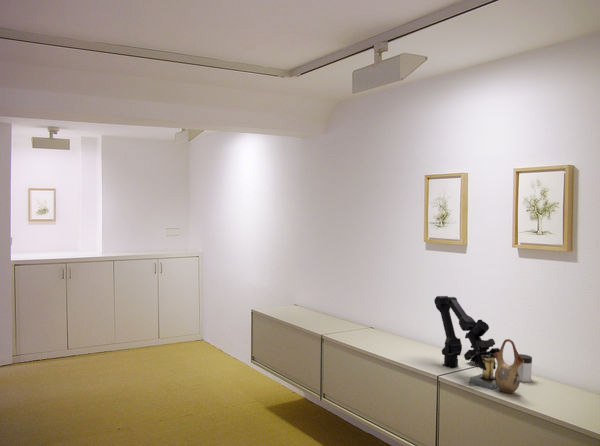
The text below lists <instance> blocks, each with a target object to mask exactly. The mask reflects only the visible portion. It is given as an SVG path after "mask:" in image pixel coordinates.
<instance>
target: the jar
mask: <svg viewBox="0 0 600 446" xmlns="http://www.w3.org/2000/svg"><path fill="white" fill-rule="evenodd" d="M518 354H519V355H520V357H521V358H522V359H523V360H524V363H523V364H521V365H520V366H519V368H518V373H519V376H520V382H522V383H530V382H532V368H533V367H532V366H533V357H532V356H531V355H527V354H522V353H521V354H520V353H518Z"/></svg>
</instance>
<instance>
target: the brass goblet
mask: <svg viewBox="0 0 600 446" xmlns="http://www.w3.org/2000/svg"><path fill="white" fill-rule="evenodd" d="M482 359H483V363H484V365H485V368H486V370H483V369H482V373H481V374H482V379H483V380H486V381H493V377H494V370H495V369H494V361H495V362H496V358H494V357H491V356H482Z"/></svg>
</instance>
